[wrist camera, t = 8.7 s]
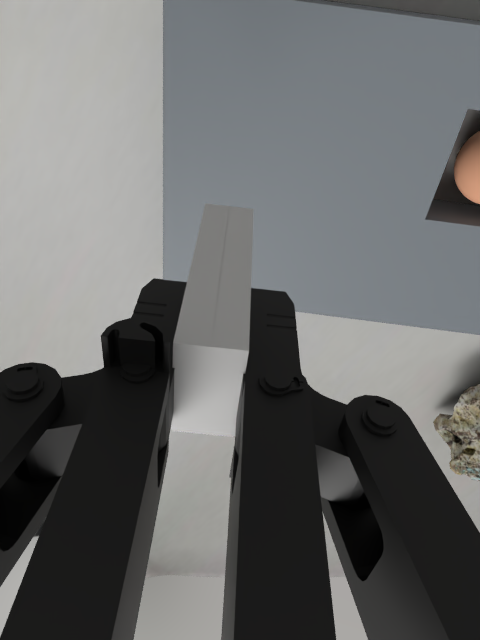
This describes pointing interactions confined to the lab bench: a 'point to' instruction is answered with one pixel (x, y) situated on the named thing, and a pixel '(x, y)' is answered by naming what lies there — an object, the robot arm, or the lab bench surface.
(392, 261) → the grey flat block
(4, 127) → the lab bench surface
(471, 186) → the ball
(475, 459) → the mineral specimen
